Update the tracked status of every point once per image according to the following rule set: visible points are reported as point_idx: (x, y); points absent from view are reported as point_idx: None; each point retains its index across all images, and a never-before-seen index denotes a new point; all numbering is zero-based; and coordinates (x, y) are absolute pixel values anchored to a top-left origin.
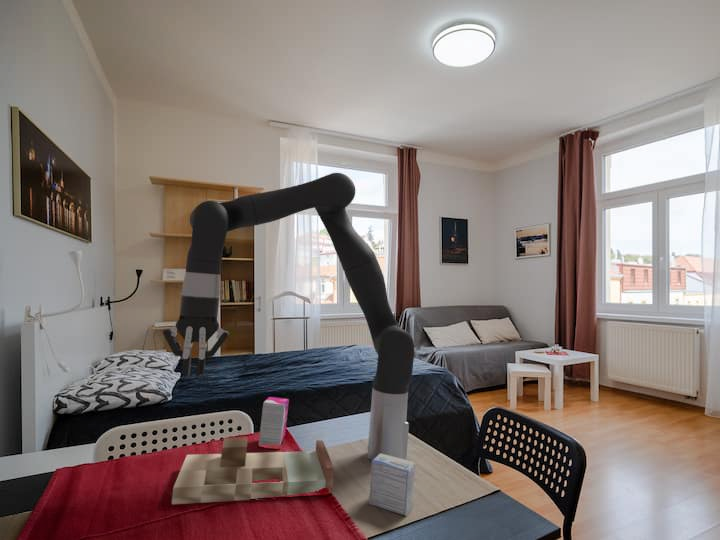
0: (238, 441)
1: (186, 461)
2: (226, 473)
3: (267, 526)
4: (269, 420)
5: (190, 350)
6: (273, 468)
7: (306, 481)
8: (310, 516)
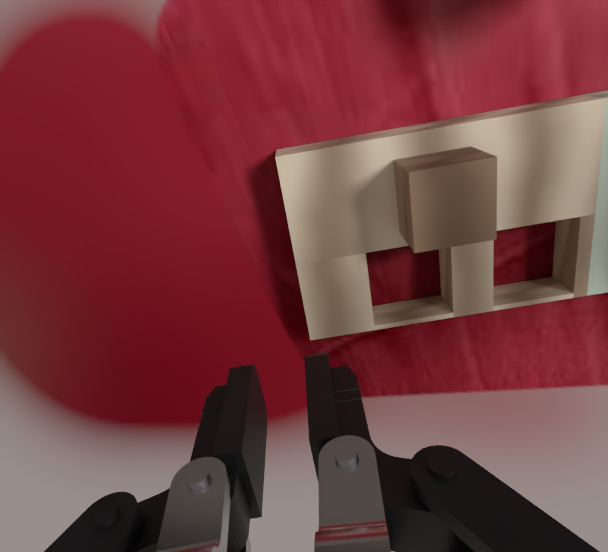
0: (465, 197)
1: (291, 205)
2: None
3: (512, 373)
4: None
5: (223, 526)
6: (555, 220)
7: None
8: (602, 340)
